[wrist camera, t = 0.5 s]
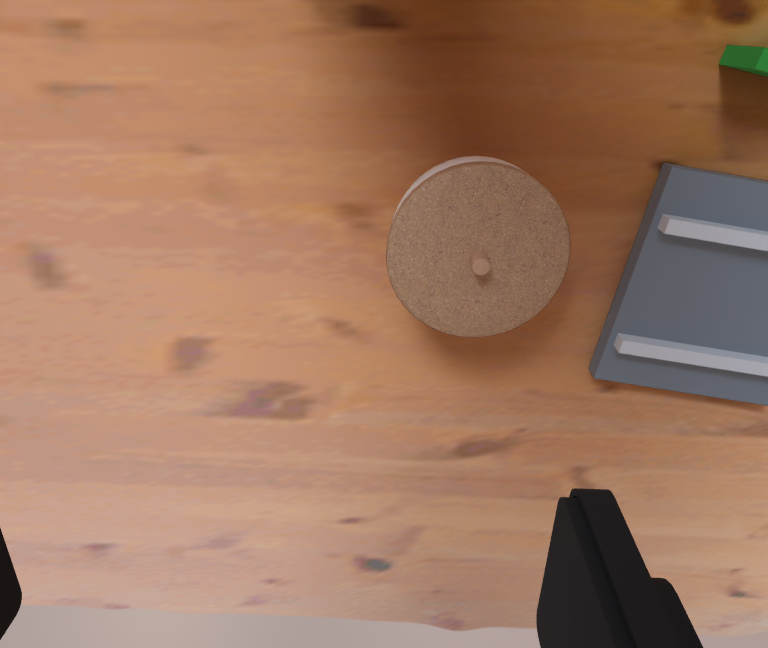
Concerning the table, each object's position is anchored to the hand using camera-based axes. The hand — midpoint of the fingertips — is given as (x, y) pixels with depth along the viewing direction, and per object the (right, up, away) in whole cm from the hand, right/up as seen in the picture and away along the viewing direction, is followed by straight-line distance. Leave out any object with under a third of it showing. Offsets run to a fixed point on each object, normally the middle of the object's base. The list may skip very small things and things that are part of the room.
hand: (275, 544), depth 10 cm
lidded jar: (+7, +11, +33) cm, 35 cm away
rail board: (+26, +6, +34) cm, 43 cm away
